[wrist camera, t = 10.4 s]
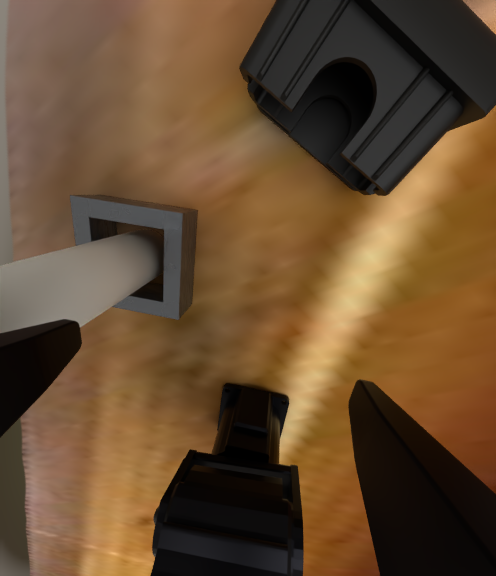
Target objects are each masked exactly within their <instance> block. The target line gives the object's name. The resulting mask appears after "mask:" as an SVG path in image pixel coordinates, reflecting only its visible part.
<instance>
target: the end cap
mask: <svg viewBox="0 0 496 576" xmlns="http://www.w3.org/2000/svg"><path fill="white" fill-rule="evenodd" d="M239 69H240V71H241V74H242V76H243V79H244V80H245V81H247V82H248V88H247V89H248V92H249V95H250V97H251V98H252V100H253V101H254V102H255V103H256V104H257V106H258V108H259V110H260V111H261V112H262V113H263V114H264V115H265V116H266V117H268V118H269V119H270V120H271V121H272V122H273V123H275V124H276V125H277V126H278V127H279V128H280V129H282V130H283V131H284V132H285V133H286V134H287V135H289V136H290V137H291V138H292V139H293V140H294V141H296V142H297V143H298V144H299V145H300V146H301V147H303V148H304V149H305V150H306V151H307V152H308V153H310V154H311V155H312V156H313V157H314V158H315V159H317V160H318V161H319V162H320V163H321V164H322V165H324V166H325V167H326V168H327V169H328V170H330V171H331V172H332V173H333V174H334V175H335V176H337V177H338V178H339V179H340V180H341V181H342V182H344V183H345V184H346V185H347V186H348V187H349V188H351V189H352V190H354V191H359V192H360V193H362V194H364V195H371V194H375V193H376V194H377V195H381V196H386V195H388V194H389V193H390V192H391V191H392V190H393V189H394V188H395V187H396V186H397V185H398V184H399V183H400V182H401V181H402V179H403V178H404V177H405V176H406V175H407V174H408V173H409V172H410V171H411V170H412V169H413V168H414V167H415V166H416V164H417V163H418V162H419V161H420V160H421V159H422V158H423V157H424V156H425V155H426V154H427V153H428V152H429V150H430V149H431V148H432V147H433V146H434V145H435V144H436V143H437V142H438V141H439V140H440V139H441V138H442V137H443V135H444V134H445V133H446V132H447V131H450V130H452V129H455V128H458V127H460V126H463V125H466V124H468V123H471V122H474V121H476V120H479V119H482V118H484V117H485V116H486V115H487V114H488V113H489V112H490V111H491V110H492V109H493V107H494V106H495V105H496V35H495V34H494V33H493V32H492V31H491V30H490V29H489V27H488V26H487V25H486V24H485V23H484V22H483V21H482V20H481V19H480V18H479V17H478V16H477V15H476V14H475V13H474V12H473V11H472V10H471V9H470V8H469V7H468V6H467V5H466V4H465V3H464V2H463V1H462V0H276V2H275V4H274V6H273V7H272V9H271V11H270V13H269V15H268V16H267V18H266V20H265V22H264V24H263V25H262V27H261V29H260V31H259V33H258V34H257V36H256V38H255V40H254V42H253V43H252V45H251V47H250V49H249V50H248V52H247V54H246V56H245V58H244V59H243V61H242V63H241V65H240V67H239Z"/></svg>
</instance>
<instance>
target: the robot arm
mask: <svg viewBox="0 0 496 576" xmlns="http://www.w3.org/2000/svg"><path fill="white" fill-rule="evenodd" d="M81 344H82V340H81V332H80V325H79V323H78V322H77V321H73V320H68V319H61V320H57V321H53V322H48V323H44V324H39V325H35V326H30V327H26V328H21V329H17V330H13V331H8V332H4V333H0V437H1V436H2V435H3V434H4V433H5V432H6V431H7V430H8V429H9V428H10V427H11V426H12V425H13V424H14V423H15V422H16V421H17V420H18V419H19V418H20V417H21V416H22V415H23V414H24V413H25V412H26V411H27V410H28V409H29V408H30V406H31V405H32V404H33V403H34V402H35V401H36V400H37V399H38V398H39V397H40V396H41V395H42V394H43V393H44V392H45V391H46V390H47V389H48V387H49V386H50V385H51V384H52V383H53V381H54V380H55V379H56V378H57V377H58V375H59V374H60V373H61V372H62V370H63V369H64V368H65V367H66V366H67V364H68V363H69V362H70V361H71V359H72V358H73V357H74V356H75V354H76V353H77V352H78V351H79V349H80V347H81ZM227 388H228V389H230V390H228V389H227ZM283 401H285V402H283ZM288 406H289V398H288V397H287V396H284V395H280V394H275V393H270V392H266V391H261V390H256V389H252V388H247V387H242V386H238V385H233V384H225V385H224V387H223V390H222V398H221V406H220V414H219V421H218V429H217V430H218V433H217V436H216V440H215V443H214V447H213V450H212V454H208V453H201V452H197V450H189V452H188V454H187V456H186V457H185V458H184V459H183V461H182V463H181V465H180V467H179V469H178V470H177V472H176V474H175V476H174V478H173V479H172V481H171V483H170V485H169V487H168V488H167V490H166V492H165V494H164V496H163V497H162V499H161V502H160V505H159V507H158V508H157V509H156V511H155V514H154V523H155V530H154V536H153V545H152V550H153V555H154V556H155V561H154V565H153V569H152V573H151V576H303V518H302V506H301V496H300V485H299V475H298V466H297V465H290V466H288V465H281V464H279V444H280V437H281V433H282V429H283V425H284V422H285V418H286V414H287V410H288ZM349 416H350V424H351V433H352V442H353V450H354V458H355V463H356V469H357V473H358V478H359V482H360V487H361V491H362V496H363V500H364V505H365V509H366V514H367V518H368V523H369V527H370V532H371V536H372V541H373V545H374V550H375V554H376V558H377V563H378V567H379V572H380V576H496V494H495V493H494V492H493V491H492V490H491V489H489V488H488V487H487V486H486V485H485V484H484V483H483V482H482V481H481V480H480V479H479V478H477V477H476V476H475V475H474V474H473V473H472V472H471V471H470V470H469V469H468V468H466V467H465V466H464V465H463V464H462V463H461V462H460V461H459V460H458V459H457V458H455V457H454V456H453V455H452V454H451V453H450V452H449V451H448V450H447V449H446V448H445V447H443V446H442V445H441V444H440V443H439V442H438V441H437V440H436V439H435V438H434V437H432V436H431V435H430V434H429V433H428V432H427V431H426V430H425V429H424V428H423V427H421V426H420V425H419V424H418V423H417V422H416V421H415V420H414V419H413V418H412V417H411V416H409V415H408V414H407V413H406V412H405V411H404V410H403V409H402V408H401V407H400V406H398V405H397V404H396V403H395V402H394V401H393V400H392V399H391V398H390V397H389V396H387V395H386V394H385V393H384V392H383V391H382V390H381V389H380V388H379V387H378V386H377V385H375V384H374V383H373V382H371V381H366V380H361V379H360V380H357V382H356V383H355V386H354V389H353V391H352V394H351V397H350V399H349Z"/></svg>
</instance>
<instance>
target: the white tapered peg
mask: <svg viewBox="0 0 496 576" xmlns="http://www.w3.org/2000/svg"><path fill="white" fill-rule="evenodd" d="M162 273H164V237H163V236H162V235H161V234H159V233H158V232H156V231H154V230H151V229H139V230H135V231H131V232H127V233H124V234H120V235H116V236H112V237H108V238H104V239H100V240H97V241H93V242H89V243H85V244H81V245H77V246H73V247H69V248H66V249H62V250H58V251H54V252H50V253H46V254H42V255H39V256H35V257H31V258H27V259H23V260H19V261H15V262H12V263H8V264H4V265H0V333H4V332H8V331H13V330H17V329H21V328H26V327H30V326H35V325H39V324H44V323H48V322H53V321H57V320H61V319H68V320H73V321H77V322H78V323H79V325H80V327H82V326H83V325H85V324H86V323H88V322H89V321H91V320H92V319H94V318H95V317H97V316H98V315H100V314H102V313H103V312H105V311H106V310H108V309H109V308H111V307H112V306H114V305H115V304H117V303H118V302H120V301H121V300H123V299H124V298H126V297H127V296H129V295H130V294H132V293H133V292H135V291H136V290H138V289H139V288H141V287H142V286H144V285H145V284H147V283H148V282H150V281H151V280H153V279H155V278H156V277H158V276H159V275H161V274H162Z"/></svg>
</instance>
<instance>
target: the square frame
mask: <svg viewBox="0 0 496 576" xmlns="http://www.w3.org/2000/svg"><path fill="white" fill-rule="evenodd" d="M70 201H71V209H72V217H73V226H74V234H75V242H76V246H77V245H81V244H85V243H89V242H93V241H97V240H100V239H104V238H108V237H112V236H116V235H117V226H116V222H122V223H128V224H134V225H140V226H146V227H152V228H158V229H164V285H159V284H153V283H147V284H145V285H144V286H142V287H141V288H139V289H138V290H136V291H135V292H133V293H132V294H130V295H129V296H127V297H126V298H124V299H123V300H121V301H120V302H118V303H117V304H115V305H114V306H112V307H116V308H121V309H126V310H131V311H136V312H141V313H146V314H152V315H157V316H162V317H167V318H172V319H177V320H179V319H180V318H181V316H182V315H183V314H184V313H185V312H186V310H187V309H188V308H189V307H190V306H191V304H192V296H193V279H194V262H195V245H196V228H197V211H198V210H193V209H187V208H180V207H174V206H168V205H162V204H155V203H149V202H143V201H136V200H130V199H124V198H117V197H111V196H105V195H70Z"/></svg>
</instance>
